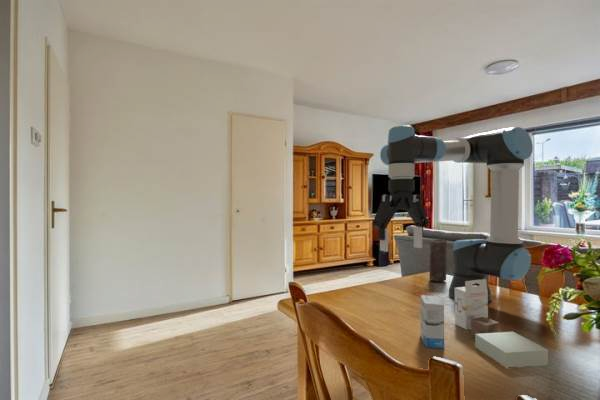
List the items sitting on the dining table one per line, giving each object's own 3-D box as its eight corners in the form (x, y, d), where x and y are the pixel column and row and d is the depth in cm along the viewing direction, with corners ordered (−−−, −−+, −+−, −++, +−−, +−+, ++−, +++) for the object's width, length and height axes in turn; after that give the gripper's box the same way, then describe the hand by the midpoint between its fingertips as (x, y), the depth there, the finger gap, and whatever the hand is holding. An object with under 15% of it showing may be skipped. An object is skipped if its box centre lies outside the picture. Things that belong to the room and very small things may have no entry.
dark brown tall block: (450, 282, 156) (449, 239, 156) (439, 284, 152) (439, 240, 152) (436, 278, 162) (435, 238, 162) (426, 280, 159) (425, 239, 158)
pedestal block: (512, 346, 90) (512, 331, 90) (548, 366, 79) (548, 349, 79) (475, 348, 88) (475, 333, 88) (505, 369, 77) (505, 352, 77)
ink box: (444, 349, 87) (444, 304, 87) (425, 347, 88) (425, 303, 88) (438, 336, 96) (437, 295, 95) (420, 334, 97) (420, 294, 96)
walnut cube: (483, 333, 97) (483, 316, 97) (499, 340, 93) (499, 322, 93) (470, 336, 95) (470, 319, 95) (486, 343, 91) (486, 325, 91)
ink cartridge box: (475, 321, 107) (475, 275, 107) (488, 326, 102) (488, 279, 102) (453, 324, 104) (453, 277, 104) (465, 330, 100) (465, 281, 99)
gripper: (421, 180, 108) (421, 245, 108) (360, 178, 97) (360, 250, 97) (440, 178, 101) (440, 248, 102) (377, 176, 90) (377, 254, 90)
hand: (401, 249), depth 99 cm, fingers open, 13 cm apart
